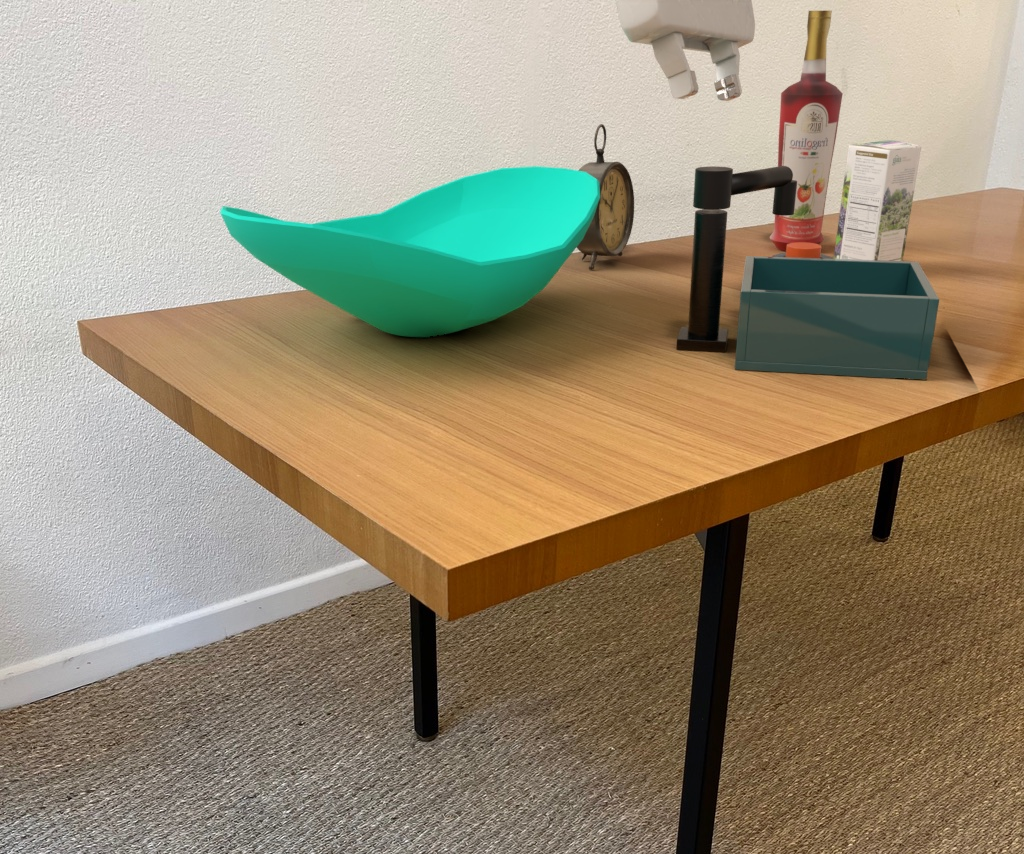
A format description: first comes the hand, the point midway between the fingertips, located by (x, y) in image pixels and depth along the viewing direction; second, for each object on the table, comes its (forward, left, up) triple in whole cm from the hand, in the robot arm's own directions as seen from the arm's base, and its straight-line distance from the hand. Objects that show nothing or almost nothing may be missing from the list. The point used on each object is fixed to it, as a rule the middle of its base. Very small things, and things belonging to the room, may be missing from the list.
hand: (709, 97), depth 89 cm
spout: (-4, -3, -11) cm, 12 cm away
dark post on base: (-1, +1, -21) cm, 21 cm away
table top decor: (+26, 0, -21) cm, 34 cm away
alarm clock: (+14, -33, -21) cm, 42 cm away
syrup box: (-18, -33, -21) cm, 43 cm away
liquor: (-10, -46, -21) cm, 51 cm away
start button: (-10, -20, -18) cm, 28 cm away
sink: (-12, +1, -21) cm, 24 cm away
